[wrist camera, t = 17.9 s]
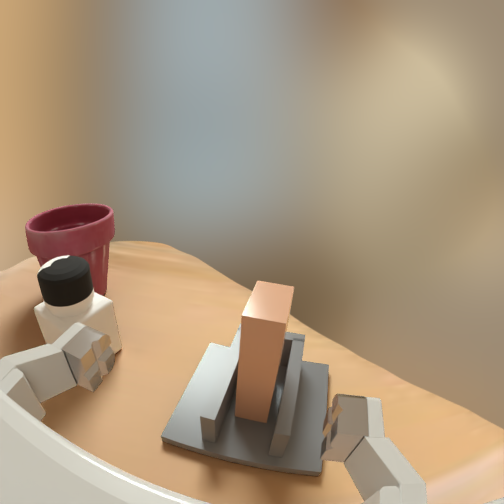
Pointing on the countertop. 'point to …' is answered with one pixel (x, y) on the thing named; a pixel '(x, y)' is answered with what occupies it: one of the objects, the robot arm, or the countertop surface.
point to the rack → (249, 431)
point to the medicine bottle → (72, 301)
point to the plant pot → (74, 237)
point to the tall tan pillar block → (261, 348)
